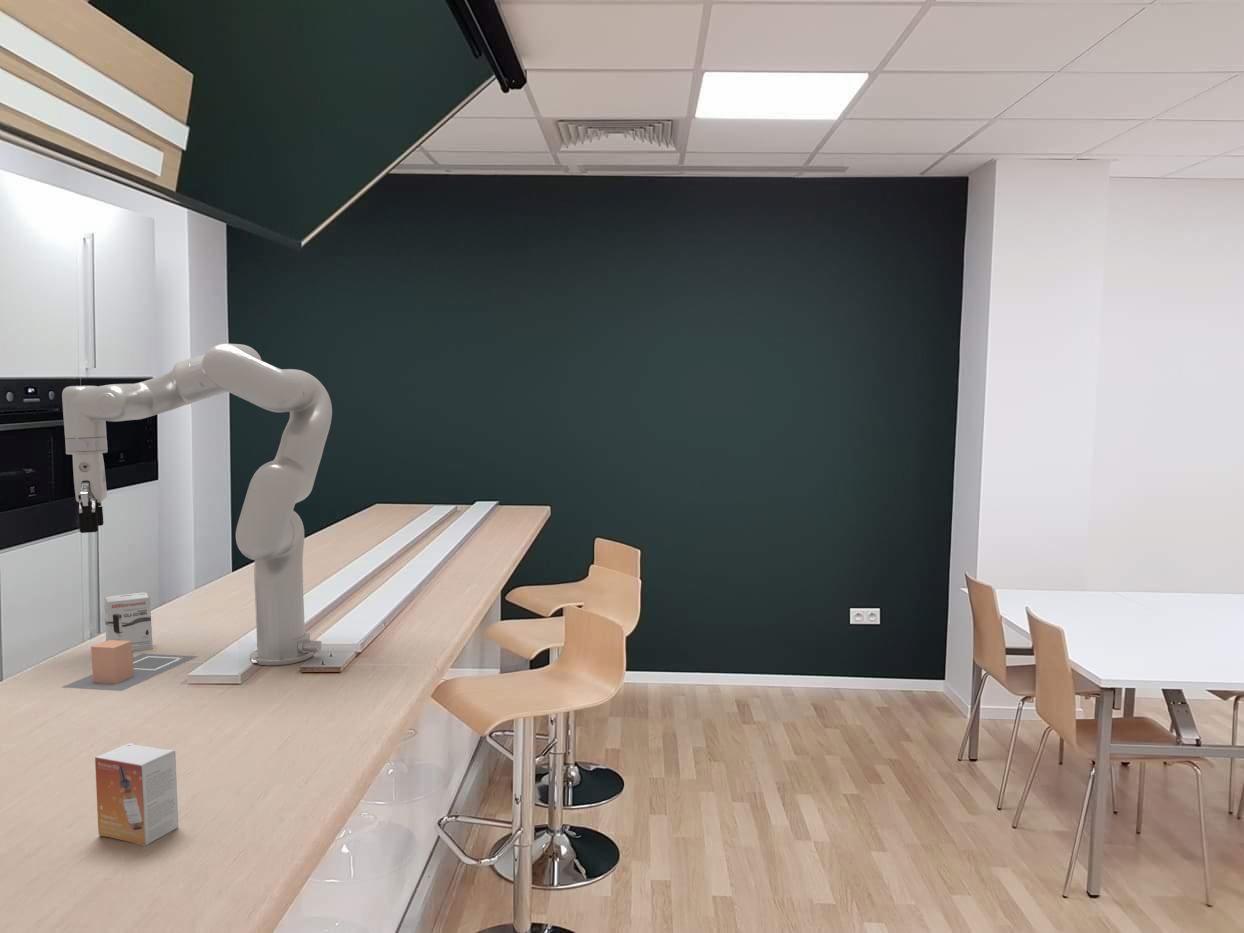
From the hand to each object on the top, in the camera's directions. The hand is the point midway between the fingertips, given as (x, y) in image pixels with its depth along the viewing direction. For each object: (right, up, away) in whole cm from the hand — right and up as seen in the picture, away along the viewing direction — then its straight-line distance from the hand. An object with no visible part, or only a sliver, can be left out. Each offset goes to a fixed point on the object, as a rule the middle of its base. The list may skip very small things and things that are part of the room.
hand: (92, 528), depth 204 cm
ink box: (+3, -27, +9) cm, 29 cm away
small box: (+47, -34, -77) cm, 96 cm away
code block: (+11, -28, -13) cm, 33 cm away
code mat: (+12, -28, -7) cm, 31 cm away
